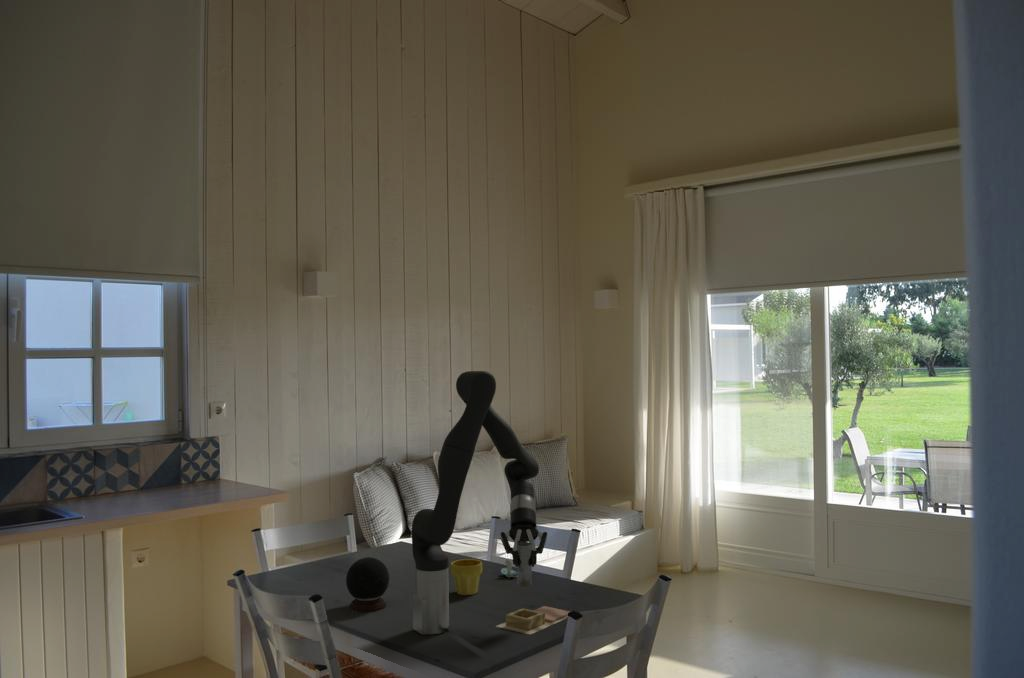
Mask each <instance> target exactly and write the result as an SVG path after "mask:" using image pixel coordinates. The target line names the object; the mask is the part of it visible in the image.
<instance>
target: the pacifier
mask: <svg viewBox="0 0 1024 678" xmlns="http://www.w3.org/2000/svg"><path fill="white" fill-rule="evenodd" d="M505 566H506V567H502V568H501V569H500V573H501V574H502V575H504V576H505V577H507V578H510V577H513V578H517V571H516V570H513V562H512V561H511V560H510V559H509V558H507V559H506V560H505Z"/></svg>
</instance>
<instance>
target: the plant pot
mask: <svg viewBox="0 0 1024 678" xmlns="http://www.w3.org/2000/svg"><path fill="white" fill-rule="evenodd" d="M450 573H451V575H452V576H453V581H454V585H455V589H456V594H458V595H460V596H470V595H471V596H473V595H476V594H477V593H478V589H479V583H480V578H481V574H482V573H483V562H482V561H481V560H480V559H479V560H478V559H474V558H473V559H472V558H471V559H470V558H464V559H457V560H453V561H451V563H450Z"/></svg>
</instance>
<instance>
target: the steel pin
mask: <svg viewBox="0 0 1024 678" xmlns="http://www.w3.org/2000/svg"><path fill="white" fill-rule="evenodd" d="M517 552H518V567H516V568H517V569H516V570H517V571H516V572H517V577H516V578H517V580H516V581H517V582H516V585H517V586H519V587H530V586H532V582H533V581H532V580H533V578H532V577H533V575H532V574H533V573H532V571H533V570H532V568H533V567H532V541H530V540H519V541H517Z"/></svg>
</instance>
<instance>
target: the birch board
mask: <svg viewBox="0 0 1024 678" xmlns="http://www.w3.org/2000/svg"><path fill="white" fill-rule="evenodd" d="M569 612H571V610H565V609H559V608H555V607H552V606H546V605H543V606H541V607H538V608H536V609H534V610H533V609H527V608H523V607H522V608H520V609H517V610H515V611H512V612H509V613H508V614H505V622H503V623H499V624H498V625H495V627H496V628H500V629H504V630H508V631H513V632H516V633H517V632H518V633H521V634H525V635H533V634H535V633H537V632H540V631H542V630H544V629H546V628H548V627H551V626H553V625H555V624H557V623H560V622H562V621H564V620H567V619H568V618H567V617H568V613H569Z"/></svg>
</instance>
